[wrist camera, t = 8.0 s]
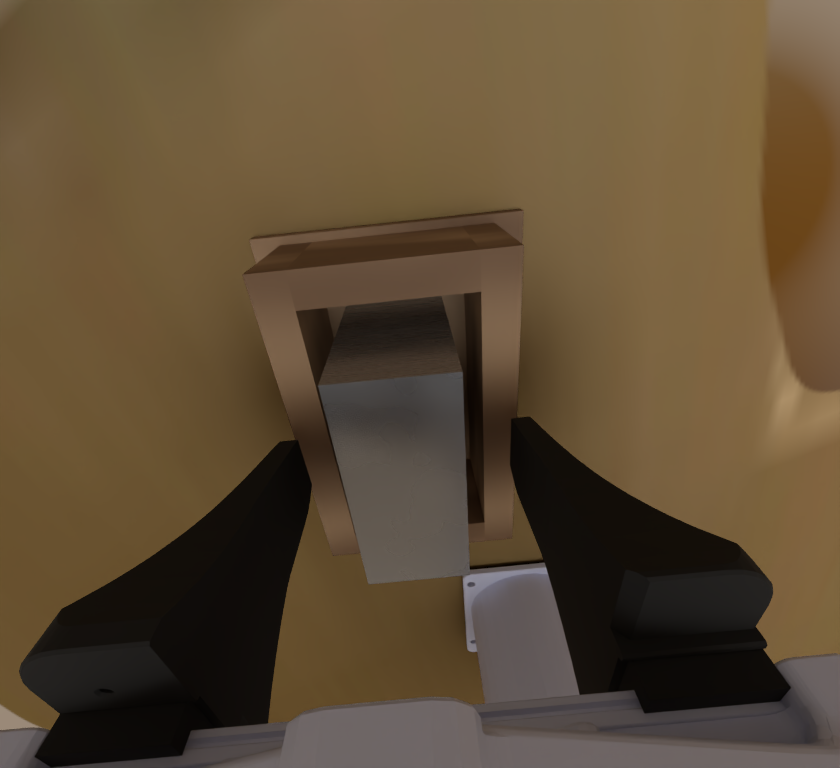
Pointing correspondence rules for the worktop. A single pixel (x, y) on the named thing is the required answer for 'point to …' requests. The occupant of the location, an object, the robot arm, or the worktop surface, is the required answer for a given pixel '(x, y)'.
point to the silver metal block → (400, 437)
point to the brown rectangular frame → (390, 281)
